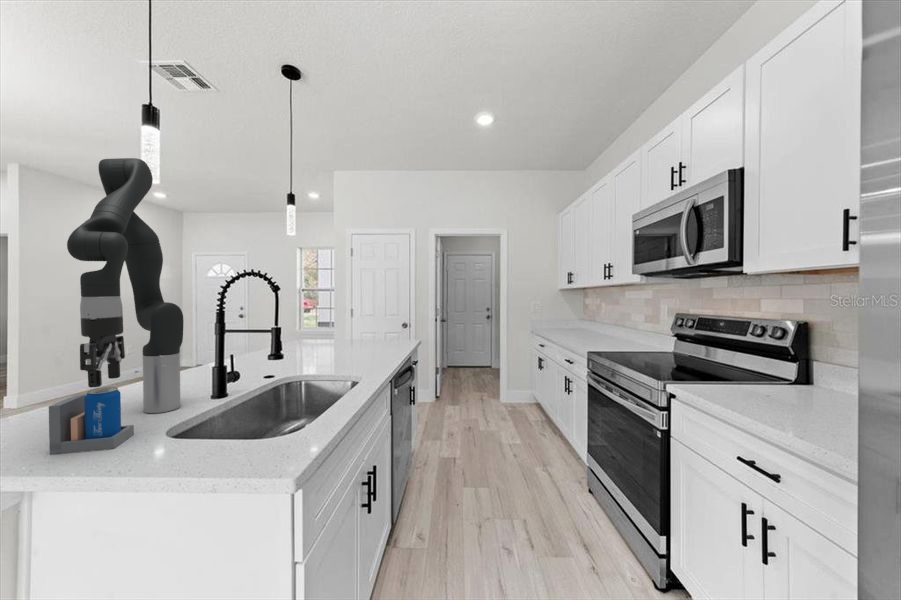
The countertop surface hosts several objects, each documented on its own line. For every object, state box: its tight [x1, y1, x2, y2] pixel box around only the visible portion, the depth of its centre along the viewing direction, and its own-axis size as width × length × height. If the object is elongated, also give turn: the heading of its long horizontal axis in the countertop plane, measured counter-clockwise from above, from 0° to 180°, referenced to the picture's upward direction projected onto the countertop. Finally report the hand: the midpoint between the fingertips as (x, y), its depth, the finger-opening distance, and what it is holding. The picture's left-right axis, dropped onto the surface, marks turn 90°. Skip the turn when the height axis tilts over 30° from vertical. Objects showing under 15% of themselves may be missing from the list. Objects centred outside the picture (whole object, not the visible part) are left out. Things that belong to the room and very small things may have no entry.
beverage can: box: [84, 386, 122, 440], centre depth 93 cm, size 6×6×12 cm
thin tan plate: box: [71, 412, 85, 441], centre depth 92 cm, size 1×7×6 cm, turn 17°
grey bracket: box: [48, 394, 135, 455], centre depth 92 cm, size 12×9×11 cm
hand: (105, 382), depth 93 cm, fingers open, 8 cm apart
